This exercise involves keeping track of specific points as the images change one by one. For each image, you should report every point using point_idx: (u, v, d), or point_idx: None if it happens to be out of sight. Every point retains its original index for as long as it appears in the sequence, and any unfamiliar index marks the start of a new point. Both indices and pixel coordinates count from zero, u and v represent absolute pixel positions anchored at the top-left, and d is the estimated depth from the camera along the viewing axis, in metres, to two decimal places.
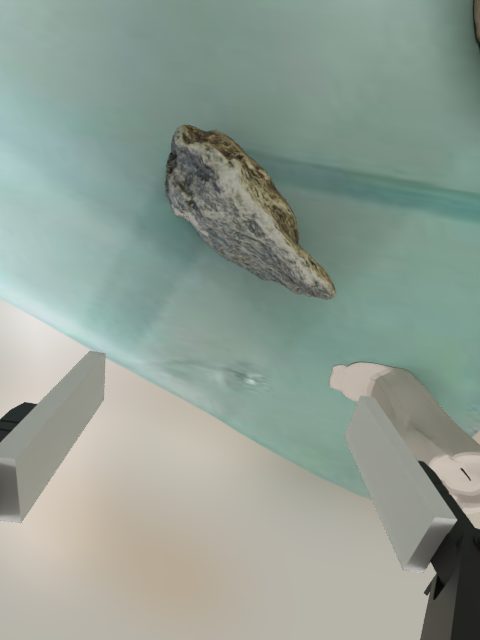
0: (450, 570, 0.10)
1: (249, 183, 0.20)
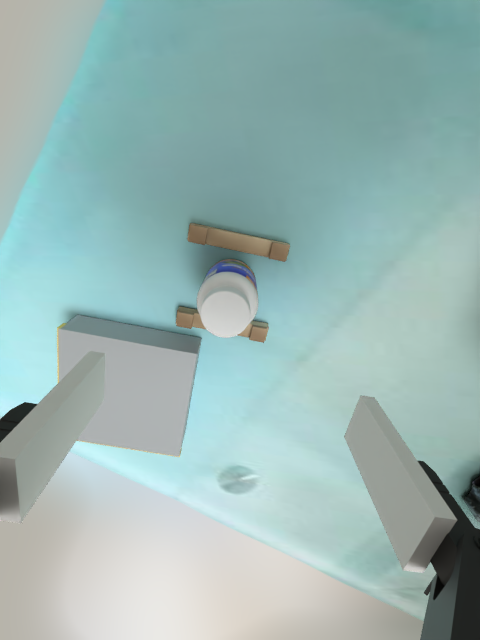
0: (450, 570, 0.10)
1: None
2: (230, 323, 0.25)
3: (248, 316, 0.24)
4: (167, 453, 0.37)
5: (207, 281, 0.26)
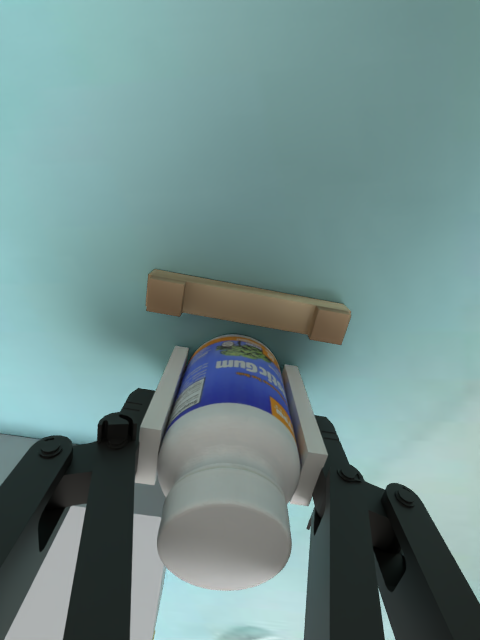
0: (323, 504, 0.11)
1: None
2: (238, 566, 0.09)
3: (286, 553, 0.09)
4: None
5: (179, 432, 0.11)
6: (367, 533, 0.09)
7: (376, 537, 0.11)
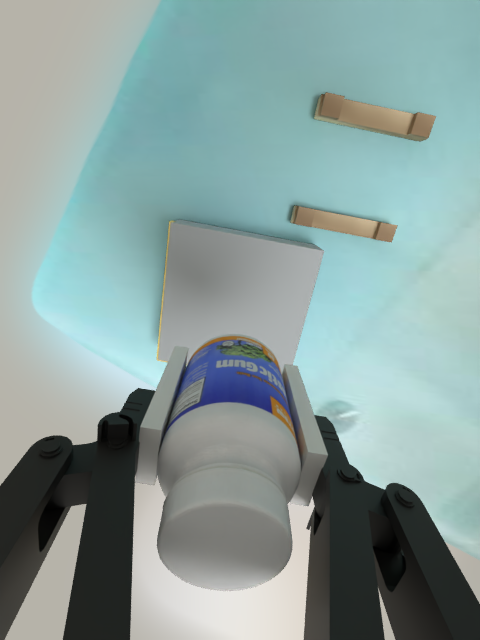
0: (323, 504, 0.11)
1: None
2: (239, 566, 0.09)
3: (287, 553, 0.09)
4: None
5: (179, 432, 0.11)
6: (367, 533, 0.09)
7: (376, 537, 0.11)
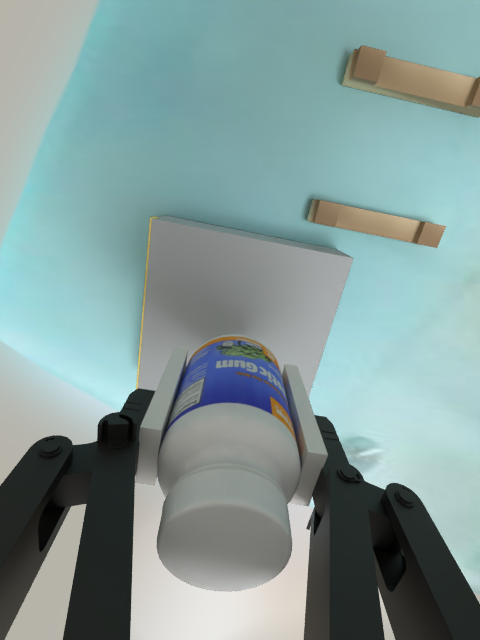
0: (323, 504, 0.11)
1: None
2: (238, 566, 0.09)
3: (287, 553, 0.09)
4: None
5: (179, 432, 0.11)
6: (367, 533, 0.09)
7: (376, 537, 0.11)
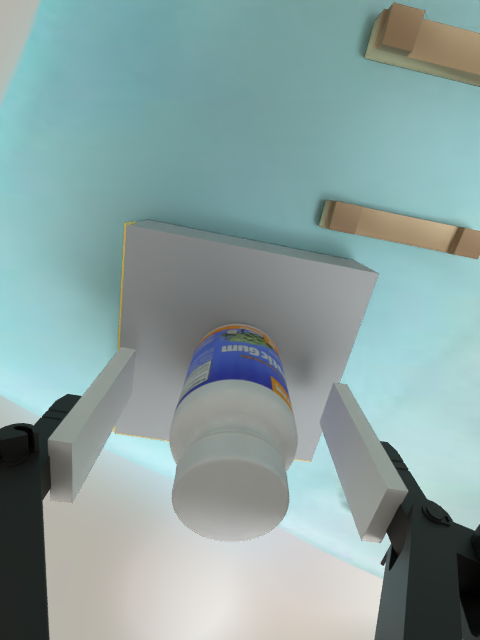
0: (402, 540, 0.10)
1: None
2: (242, 517, 0.11)
3: (284, 505, 0.10)
4: None
5: (190, 404, 0.12)
6: (454, 582, 0.08)
7: (468, 584, 0.10)
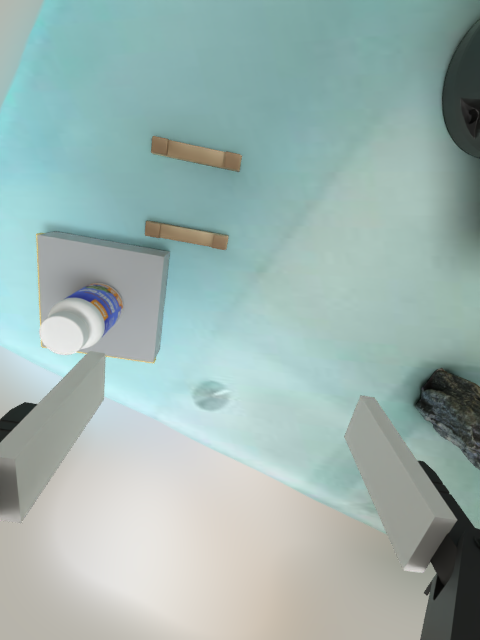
0: (450, 570, 0.10)
1: None
2: (67, 342, 0.29)
3: (81, 336, 0.29)
4: (142, 359, 0.41)
5: (53, 306, 0.30)
6: None
7: None
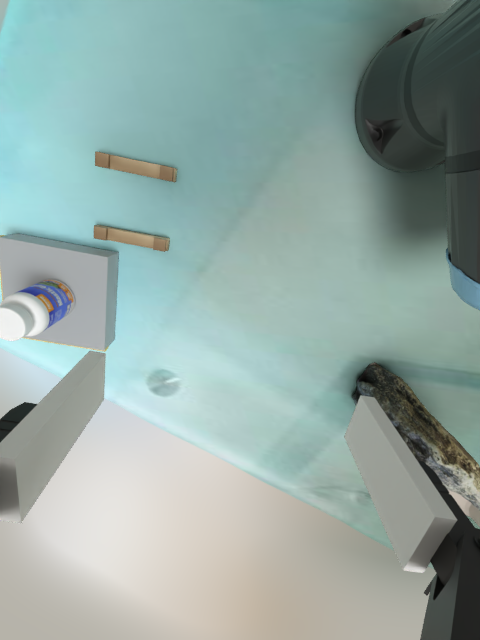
0: (450, 570, 0.10)
1: (475, 480, 0.35)
2: (11, 330, 0.34)
3: (23, 325, 0.34)
4: (94, 347, 0.46)
5: None
6: None
7: None
